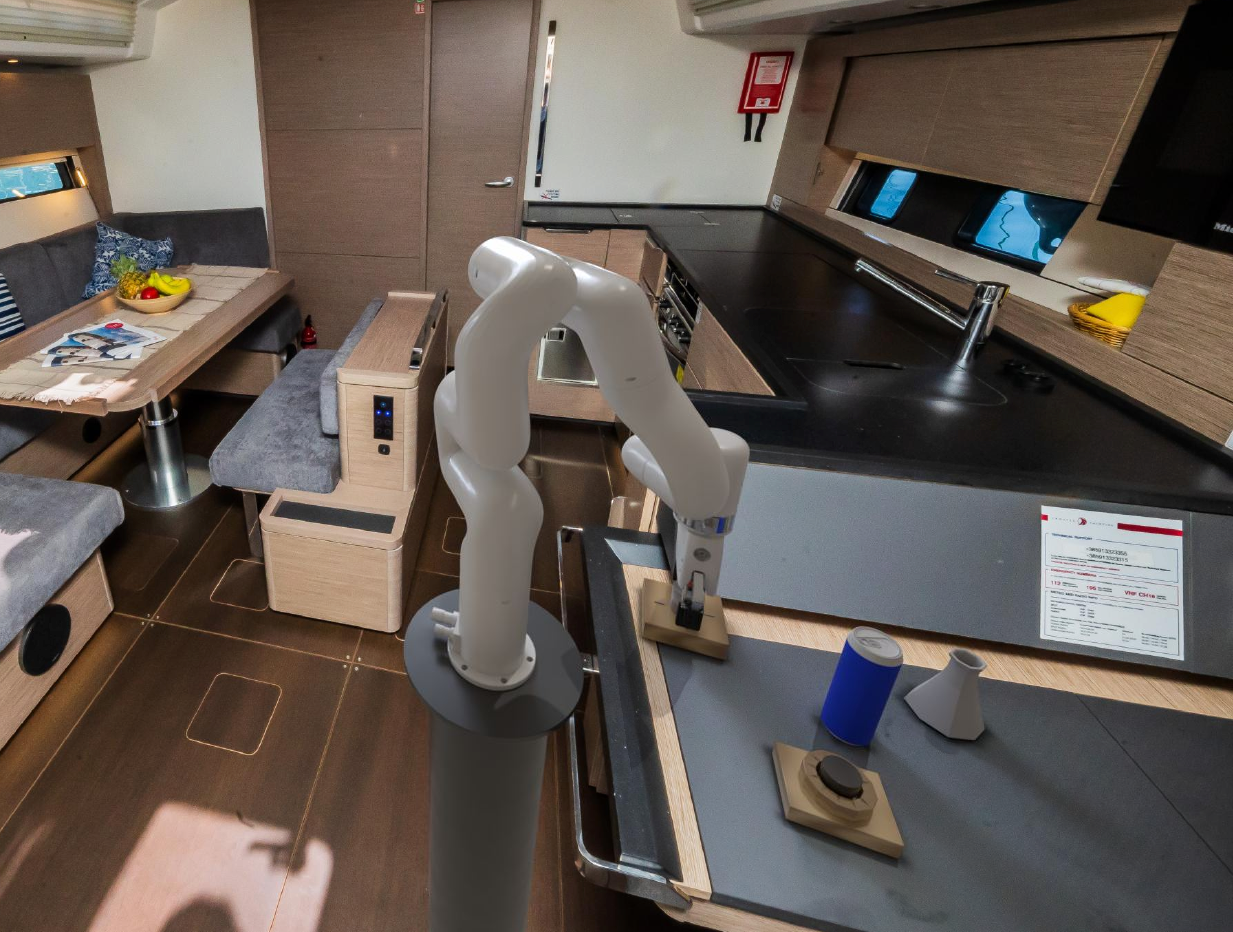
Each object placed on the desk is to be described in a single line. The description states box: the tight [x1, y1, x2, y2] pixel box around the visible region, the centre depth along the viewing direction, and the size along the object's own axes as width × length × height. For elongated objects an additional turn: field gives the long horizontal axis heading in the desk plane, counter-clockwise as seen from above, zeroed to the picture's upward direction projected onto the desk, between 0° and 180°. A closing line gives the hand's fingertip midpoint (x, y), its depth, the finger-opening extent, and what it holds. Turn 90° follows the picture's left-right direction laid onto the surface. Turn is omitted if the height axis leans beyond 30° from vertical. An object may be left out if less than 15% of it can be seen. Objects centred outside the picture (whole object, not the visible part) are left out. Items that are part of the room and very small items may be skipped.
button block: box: [771, 741, 905, 860], centre depth 67 cm, size 10×8×4 cm
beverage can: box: [820, 626, 904, 747], centre depth 73 cm, size 5×5×15 cm
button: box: [819, 755, 863, 798], centre depth 66 cm, size 4×4×2 cm
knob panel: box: [641, 577, 730, 661], centre depth 91 cm, size 11×10×3 cm
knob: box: [669, 580, 692, 614], centre depth 90 cm, size 4×4×4 cm
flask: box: [903, 647, 988, 741], centre depth 75 cm, size 7×7×10 cm
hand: (685, 603), depth 90 cm, fingers open, 9 cm apart
